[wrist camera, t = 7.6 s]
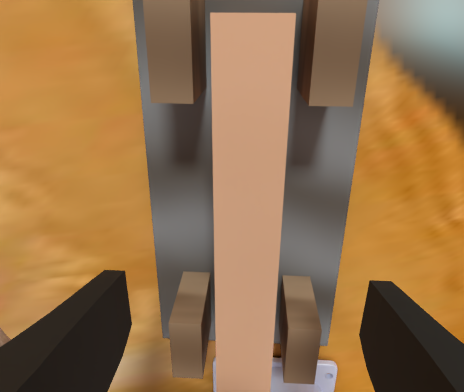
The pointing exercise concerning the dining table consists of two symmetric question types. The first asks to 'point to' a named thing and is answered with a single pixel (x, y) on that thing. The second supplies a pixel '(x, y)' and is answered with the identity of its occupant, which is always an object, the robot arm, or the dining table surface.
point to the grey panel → (296, 172)
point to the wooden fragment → (3, 338)
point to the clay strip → (248, 188)
